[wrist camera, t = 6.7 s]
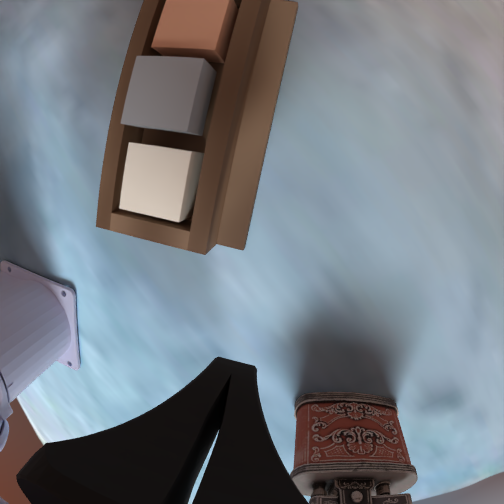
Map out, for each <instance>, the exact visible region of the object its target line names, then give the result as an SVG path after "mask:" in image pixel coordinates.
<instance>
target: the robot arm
mask: <svg viewBox="0 0 504 504" xmlns="http://www.w3.org/2000/svg"><path fill="white" fill-rule="evenodd" d="M0 266H1V271H0V452H1V450H2V449H3V447H4V446H5V443H6V440H7V437H8V433H9V425H8V422H7V421H6V419H7V418H8V417H9V416H10V415H11V414H12V413H13V410H12V408H11V407H10V405H9V403H10V402H11V401H12V400H14V399H15V398H16V397H17V396H18V395H19V394H20V393H21V392H22V391H23V390H24V389H25V388H27V387H28V386H29V385H30V384H31V383H32V382H33V381H34V380H35V379H36V378H38V377H39V376H40V375H41V374H42V373H43V372H44V371H45V370H46V369H48V368H49V367H50V366H51V365H52V364H53V363H54V362H55V361H58V362H60V363H62V364H64V365H66V366H68V367H70V368H72V369H74V370H78V369H79V368H80V358H79V347H78V335H77V318H76V295H75V292H74V290H73V289H71V288H69V287H67V286H64V285H62V284H59V283H57V282H54V281H52V280H49V279H47V278H44V277H42V276H40V275H37V274H35V273H33V272H30V271H28V270H26V269H23V268H21V267H19V266H17V265H14V264H12V263H10V262H8V261H6V260H4V261H2V262H1V265H0ZM64 291H65V293H66V294H65V293H64ZM218 430H219V433H218ZM217 433H218V437H217V440H216V443H215V446H214V448H213V451H212V454H211V457H210V459H209V462H208V465H207V467H206V470H205V473H204V475H203V478H202V480H201V483H200V486H199V488H198V491H197V493H196V496H195V498H194V500H193V503H192V504H309V503H308V502H307V501H306V499H305V498H304V497H303V495H302V494H301V492H300V491H299V489H298V488H297V486H296V485H295V483H294V481H293V480H292V478H291V477H290V475H289V473H288V472H287V470H286V468H285V466H284V465H283V463H282V461H281V459H280V457H279V455H278V452H277V450H276V448H275V446H274V444H273V441H272V439H271V436H270V433H269V430H268V427H267V424H266V421H265V418H264V415H263V411H262V407H261V403H260V398H259V393H258V386H257V369H256V367H255V366H253V365H249V364H245V363H241V362H237V361H233V360H229V359H225V358H222V357H217V358H215V359H214V360H213V361H212V362H211V363H210V364H209V366H208V367H207V368H206V369H205V370H204V371H202V372H201V373H200V374H199V375H198V376H197V377H196V378H195V379H194V380H192V381H191V382H190V383H189V384H188V385H186V386H185V387H184V388H183V389H181V390H180V391H179V392H177V393H176V394H175V395H173V396H172V397H170V398H169V399H167V400H166V401H165V402H163V403H161V404H160V405H158V406H157V407H155V408H153V409H152V410H150V411H148V412H146V413H144V414H142V415H140V416H138V417H136V418H134V419H132V420H130V421H127V422H125V423H123V424H121V425H118V426H116V427H113V428H110V429H107V430H104V431H101V432H97V433H94V434H91V435H88V436H84V437H80V438H75V439H70V440H64V441H58V442H52V443H46V444H45V445H44V446H43V447H42V448H40V449H39V450H38V451H37V452H36V453H35V454H34V455H33V456H32V457H31V458H30V459H29V461H28V462H27V463H26V464H25V465H24V467H23V468H22V469H21V470H20V471H19V473H18V474H17V475H16V476H17V482H18V484H19V486H20V488H21V490H22V491H23V493H24V494H25V495H26V497H27V498H28V500H29V501H30V502H31V504H188V501H189V498H190V495H191V492H192V489H193V486H194V484H195V481H196V479H197V477H198V474H199V472H200V470H201V468H202V466H203V464H204V461H205V459H206V457H207V455H208V453H209V450H210V448H211V446H212V444H213V442H214V439H215V437H216V435H217ZM0 504H8V503H7V502H6V501H5V500H3V499H2V498H1V497H0Z"/></svg>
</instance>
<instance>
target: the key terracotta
mask: <svg viewBox="0 0 504 504" xmlns="http://www.w3.org/2000/svg"><path fill="white" fill-rule="evenodd" d="M238 12H239V10H238V8H237V6H236V4H235V1H234V0H166V2H165V5H164V8H163V11H162V14H161V17H160V20H159V23H158V26H157V29H156V33H155V36H154V39H153V42H152V46H151V47H152V48H153V49H155V50H156V51H157V52H159V53H160V54H161V55H163V56H172V57H191V58H204V59H205V60H206V61H207V62H215V63H224V64H225V60H226V56H227V52H228V48H229V45H230V41H231V37H232V33H233V30H234V26H235V22H236V19H237V15H238Z"/></svg>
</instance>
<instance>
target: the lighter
mask: <svg viewBox="0 0 504 504" xmlns="http://www.w3.org/2000/svg"><path fill="white" fill-rule="evenodd" d="M294 416H295V418H296V420H297V421H296V439H295V455H294V469H293V471H292V472H291V473H290V477H291V478H292V480H293V481H294V483H295V485H296V486H297V488H298V489H299V491H300V492H301V494H302V495H307V496H311V499H310V501H309V504H412V500H411V495H410V494H409V493H406V494H399V493H402V492H404V491H406V490H408V489H409V488H411V487H412V486H413V485H414V484H415V483H416V481H417V473H416V469H415V467H414V466H413V465H411V461H410V458H409V454H408V451H407V447H406V443H405V440H404V437H403V433H402V430H401V426H400V423H399V420H398V408H397V405H396V403H395V401H394V400H392V399H390V398H386V397H381V396H376V395H370V394H362V393H354V392H318V393H307V394H304V395H302V396H300V397H299V398H298V399H297V401H296V403H295V414H294Z"/></svg>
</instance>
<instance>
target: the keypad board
mask: <svg viewBox="0 0 504 504" xmlns="http://www.w3.org/2000/svg"><path fill="white" fill-rule="evenodd" d="M234 1H235V4H236V6H237V8H238V10H239V12H238V15H237V19H236V22H235V26H234V30H233V33H232V37H231V41H230V45H229V48H228V52H227V56H226V60H225V64H224V63H215V62H208V63H209V64H210V65H211V66H212V67H213V69H214V70H215V71H216V72H217V73H216V78H215V82H214V86H213V90H212V94H211V99H210V103H209V107H208V112H207V116H206V121H205V125H204V130H203V135H202V136H199V135H193V134H186V133H179V132H172V131H165V130H157V129H149V128H141V127H136V126H131V125H125V124H121V119H122V114H123V109H124V105H125V100H126V96H127V92H128V87H129V83H130V79H131V75H132V71H133V68H134V64H135V60H136V57H137V56H163V55H161V54H160V53H159V52H157V51H156V50H155V49H153V48H152V47H151V46H152V42H153V39H154V36H155V33H156V29H157V26H158V23H159V20H160V17H161V14H162V11H163V8H164V5H165V2H166V0H144V2H143V4H142V7H141V10H140V13H139V16H138V19H137V22H136V25H135V28H134V31H133V34H132V37H131V40H130V44H129V47H128V50H127V54H126V57H125V61H124V65H123V68H122V72H121V76H120V80H119V84H118V88H117V92H116V97H115V101H114V106H113V111H112V115H111V120H110V125H109V131H108V136H107V142H106V148H105V154H104V161H103V167H102V175H101V182H100V190H99V199H98V209H97V220H96V227H99V228H103V229H107V230H111V231H115V232H118V233H122V234H126V235H130V236H134V237H137V238H141V239H145V240H149V241H153V242H157V243H161V244H164V245H168V246H172V247H176V248H180V249H184V250H188V251H192V252H196V253H200V254H204V255H206V254H207V253H208V252H209V251H210V250H211V249H212V248H213V247H214V246H215V245H216V244H219V245H223V246H227V247H231V248H235V249H239V250H244V248H245V245H246V240H247V236H248V231H249V226H250V222H251V217H252V212H253V208H254V203H255V198H256V194H257V189H258V185H259V180H260V175H261V171H262V166H263V162H264V157H265V153H266V148H267V143H268V139H269V134H270V130H271V125H272V121H273V116H274V112H275V107H276V103H277V98H278V94H279V89H280V85H281V80H282V76H283V71H284V67H285V62H286V58H287V54H288V49H289V45H290V40H291V36H292V31H293V27H294V23H295V18H296V14H297V10H298V3H297V2H291V1H284V0H234ZM129 142H130V143H141V144H150V145H157V146H164V147H170V148H177V149H183V150H189V151H195V152H200V153H204V157H203V163H202V168H201V173H200V178H199V183H198V189H197V194H196V200H195V205H194V211H193V216H191V217H189V218H187V219H185V220H183V221H181V222H175V221H171V220H167V219H162V218H158V217H154V216H149V215H145V214H141V213H137V212H132V211H128V210H123V209H119V206H120V197H121V190H122V182H123V175H124V169H125V162H126V156H127V150H128V145H129Z"/></svg>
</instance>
